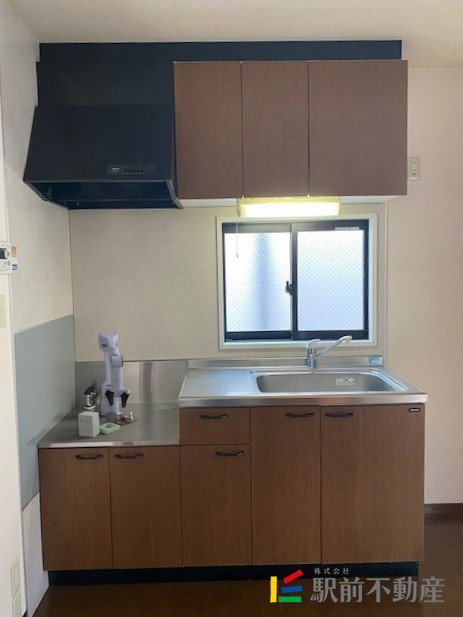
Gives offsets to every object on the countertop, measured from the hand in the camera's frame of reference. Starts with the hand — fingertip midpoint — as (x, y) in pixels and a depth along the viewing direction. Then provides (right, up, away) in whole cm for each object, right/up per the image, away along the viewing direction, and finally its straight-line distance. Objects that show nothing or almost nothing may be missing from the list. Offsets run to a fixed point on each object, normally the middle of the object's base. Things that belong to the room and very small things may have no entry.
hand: (117, 406), depth 257 cm
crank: (+3, -7, +5) cm, 10 cm away
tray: (-3, -10, -8) cm, 13 cm away
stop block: (-3, -10, +1) cm, 10 cm away
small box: (-11, -11, -13) cm, 20 cm away
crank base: (+1, -9, +7) cm, 11 cm away
